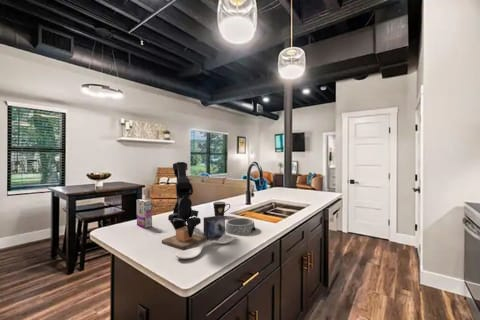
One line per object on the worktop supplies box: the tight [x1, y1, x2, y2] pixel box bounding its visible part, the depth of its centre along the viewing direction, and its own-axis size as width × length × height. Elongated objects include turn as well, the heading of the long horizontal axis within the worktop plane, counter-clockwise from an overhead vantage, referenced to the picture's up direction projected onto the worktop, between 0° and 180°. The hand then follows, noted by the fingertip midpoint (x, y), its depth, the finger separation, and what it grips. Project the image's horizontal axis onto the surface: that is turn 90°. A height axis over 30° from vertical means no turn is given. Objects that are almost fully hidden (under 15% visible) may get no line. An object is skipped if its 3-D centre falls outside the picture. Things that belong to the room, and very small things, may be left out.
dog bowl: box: [225, 217, 257, 236], centre depth 139 cm, size 17×18×5 cm
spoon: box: [175, 232, 238, 260], centre depth 111 cm, size 9×32×4 cm, turn 137°
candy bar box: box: [136, 198, 153, 229], centre depth 149 cm, size 11×5×16 cm, turn 49°
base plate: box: [161, 233, 208, 251], centre depth 121 cm, size 16×16×4 cm
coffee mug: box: [212, 201, 231, 218], centre depth 169 cm, size 12×9×10 cm
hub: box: [175, 226, 194, 241], centre depth 121 cm, size 6×6×5 cm
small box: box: [202, 215, 226, 241], centre depth 128 cm, size 11×6×10 cm, turn 117°
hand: (184, 235), depth 121 cm, fingers open, 9 cm apart
